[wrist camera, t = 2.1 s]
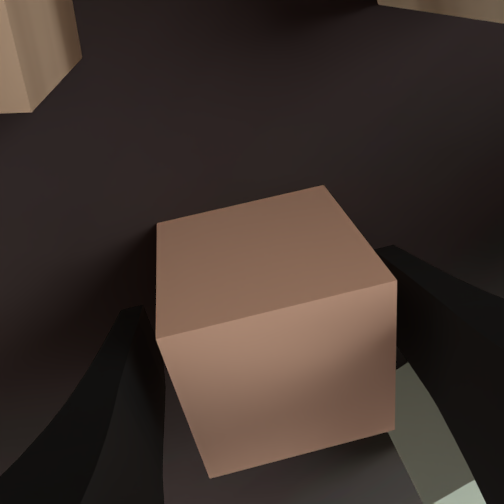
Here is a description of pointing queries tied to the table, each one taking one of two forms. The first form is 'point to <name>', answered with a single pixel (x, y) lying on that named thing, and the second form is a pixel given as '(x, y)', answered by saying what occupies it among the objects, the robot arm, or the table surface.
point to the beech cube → (455, 8)
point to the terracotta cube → (275, 329)
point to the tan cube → (35, 50)
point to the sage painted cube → (429, 446)
